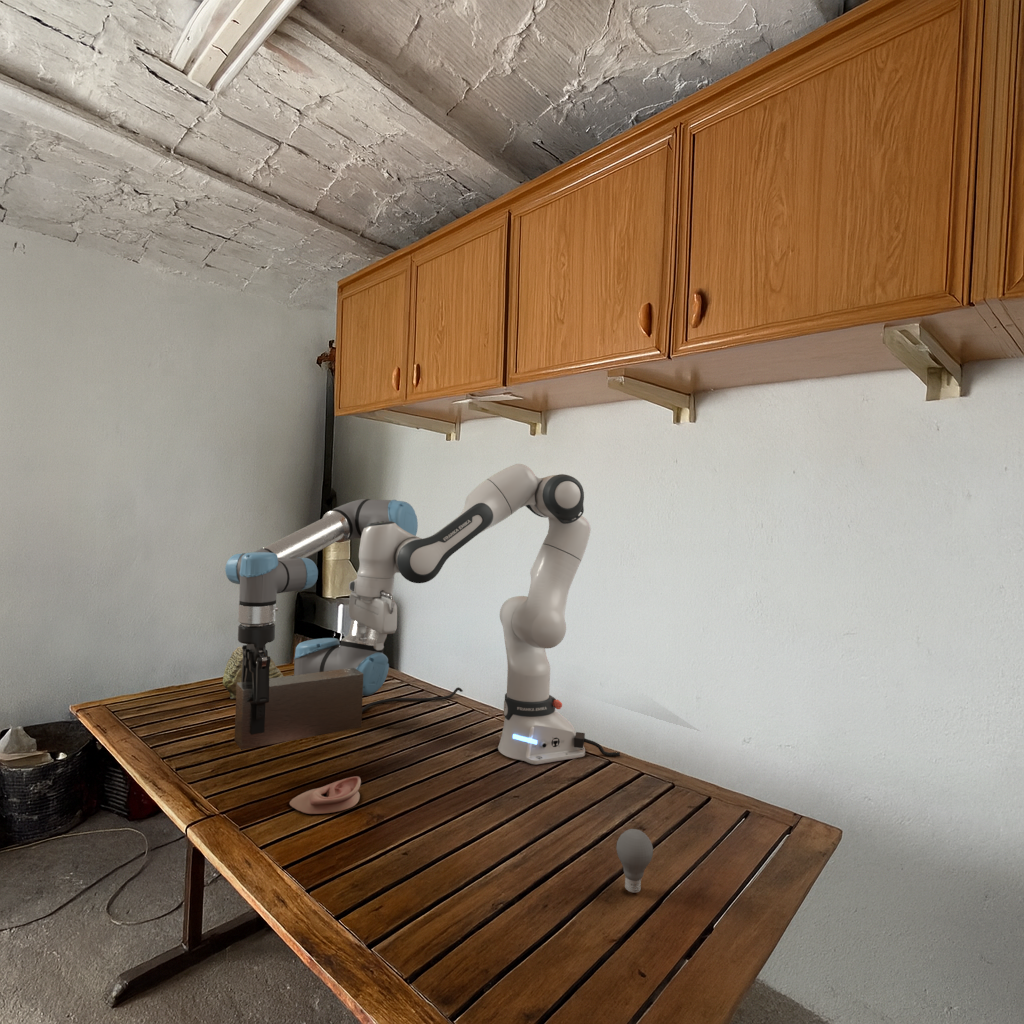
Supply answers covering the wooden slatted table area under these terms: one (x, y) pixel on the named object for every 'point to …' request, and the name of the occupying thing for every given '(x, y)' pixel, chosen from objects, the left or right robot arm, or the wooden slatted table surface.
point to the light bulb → (634, 857)
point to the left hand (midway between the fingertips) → (253, 727)
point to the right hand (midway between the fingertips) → (370, 645)
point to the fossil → (235, 671)
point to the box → (301, 707)
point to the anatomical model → (329, 797)
